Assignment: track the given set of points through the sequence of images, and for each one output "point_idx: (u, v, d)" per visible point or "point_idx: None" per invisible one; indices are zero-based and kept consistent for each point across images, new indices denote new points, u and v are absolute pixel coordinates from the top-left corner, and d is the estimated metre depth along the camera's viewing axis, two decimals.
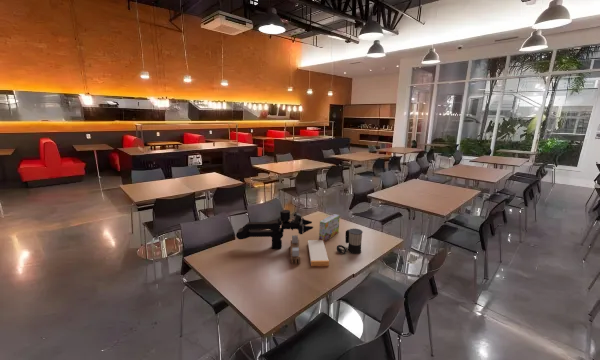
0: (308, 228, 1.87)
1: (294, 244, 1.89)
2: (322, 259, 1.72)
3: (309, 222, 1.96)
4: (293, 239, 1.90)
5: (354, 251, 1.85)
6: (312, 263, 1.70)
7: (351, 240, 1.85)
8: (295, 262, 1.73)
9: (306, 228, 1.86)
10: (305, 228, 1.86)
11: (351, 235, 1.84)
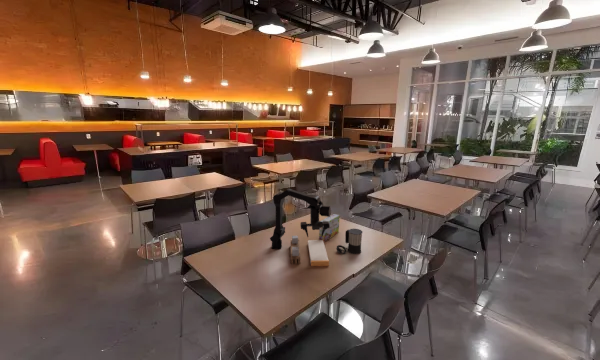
0: (306, 232, 1.82)
1: (294, 244, 1.89)
2: (322, 259, 1.72)
3: (321, 234, 1.82)
4: (293, 239, 1.89)
5: (354, 251, 1.85)
6: (312, 263, 1.70)
7: (351, 240, 1.85)
8: (295, 262, 1.73)
9: None
10: None
11: (351, 235, 1.84)
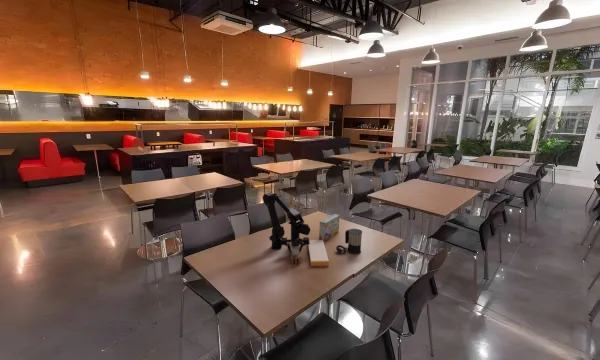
0: None
1: None
2: (322, 259, 1.72)
3: None
4: None
5: (353, 251, 1.85)
6: (312, 263, 1.70)
7: (351, 240, 1.85)
8: (295, 262, 1.73)
9: None
10: None
11: (351, 235, 1.84)
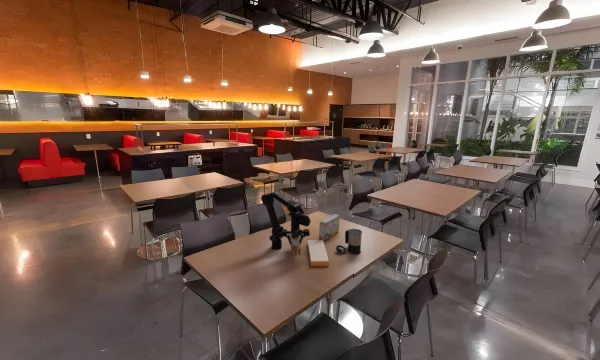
0: None
1: None
2: (322, 259, 1.72)
3: None
4: None
5: (353, 251, 1.85)
6: (312, 263, 1.70)
7: (351, 240, 1.85)
8: (295, 253, 1.71)
9: None
10: None
11: (351, 235, 1.84)
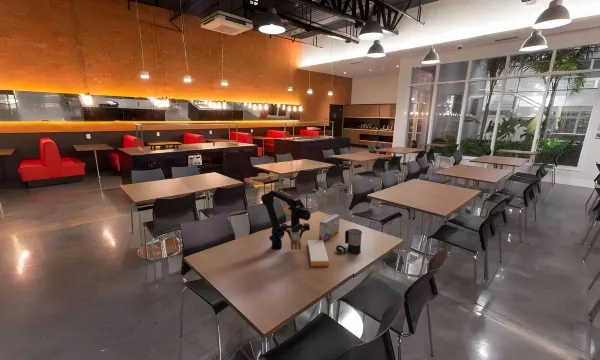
0: None
1: None
2: (322, 259, 1.72)
3: None
4: None
5: (353, 251, 1.85)
6: (312, 263, 1.70)
7: (350, 240, 1.85)
8: (295, 247, 1.71)
9: None
10: None
11: (350, 235, 1.84)
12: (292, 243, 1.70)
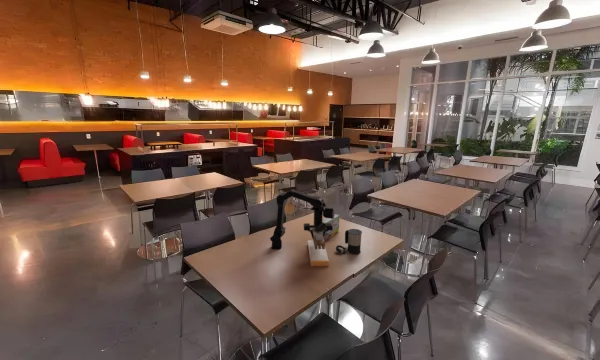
0: (311, 234, 1.82)
1: None
2: (322, 259, 1.72)
3: None
4: None
5: (353, 251, 1.85)
6: (312, 263, 1.70)
7: (350, 240, 1.85)
8: (319, 247, 1.71)
9: None
10: None
11: (350, 235, 1.84)
12: (316, 243, 1.70)
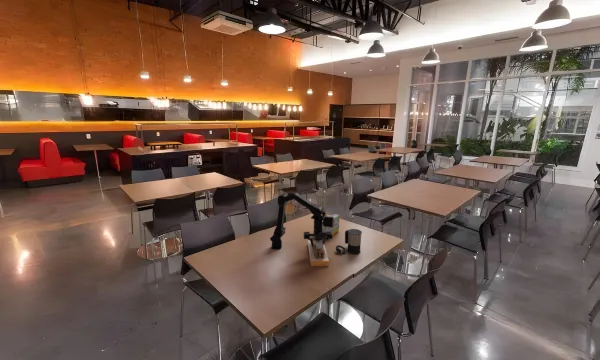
0: (311, 242, 1.84)
1: None
2: (322, 259, 1.72)
3: None
4: None
5: (353, 251, 1.85)
6: (312, 263, 1.70)
7: (350, 240, 1.85)
8: (319, 256, 1.73)
9: (311, 240, 1.83)
10: None
11: (350, 235, 1.84)
12: (316, 251, 1.72)
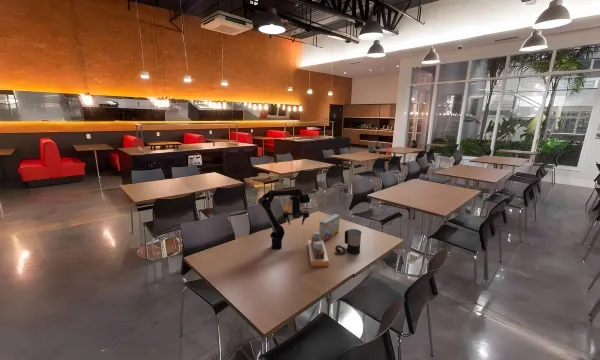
0: (288, 221, 2.00)
1: (316, 239, 1.89)
2: (322, 259, 1.72)
3: (302, 222, 2.00)
4: (315, 235, 1.88)
5: (352, 251, 1.85)
6: (312, 263, 1.70)
7: (350, 241, 1.84)
8: (319, 257, 1.73)
9: None
10: None
11: (350, 236, 1.84)
12: (316, 253, 1.72)
